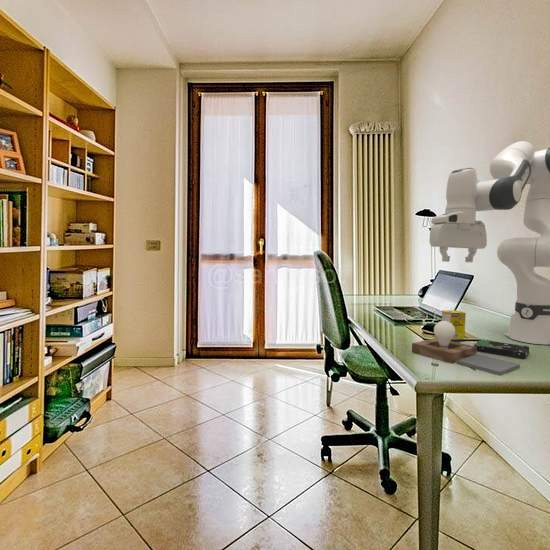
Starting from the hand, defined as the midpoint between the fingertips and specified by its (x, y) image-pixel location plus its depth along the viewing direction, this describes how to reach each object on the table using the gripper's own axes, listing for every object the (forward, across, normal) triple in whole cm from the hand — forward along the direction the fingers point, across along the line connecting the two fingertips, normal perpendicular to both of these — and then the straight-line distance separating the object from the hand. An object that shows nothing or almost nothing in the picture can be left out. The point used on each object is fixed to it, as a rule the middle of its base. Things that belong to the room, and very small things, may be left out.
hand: (457, 262), depth 117 cm
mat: (+30, -1, +12) cm, 33 cm away
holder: (+30, +3, -1) cm, 30 cm away
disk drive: (+30, -18, +2) cm, 36 cm away
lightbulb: (+31, +3, -1) cm, 31 cm away
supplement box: (+30, -15, -15) cm, 37 cm away
